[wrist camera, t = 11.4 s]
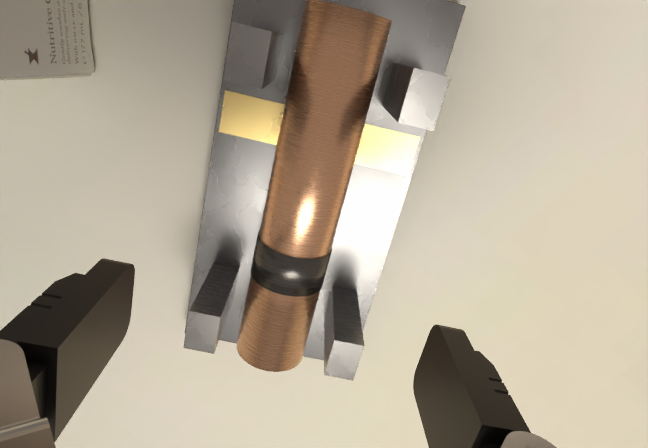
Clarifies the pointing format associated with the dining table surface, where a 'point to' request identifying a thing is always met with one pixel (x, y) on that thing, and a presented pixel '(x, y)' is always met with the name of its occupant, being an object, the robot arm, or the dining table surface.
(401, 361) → the dining table surface
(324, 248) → the copper tube
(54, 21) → the skincare box
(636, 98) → the dining table surface
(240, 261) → the tube holder
